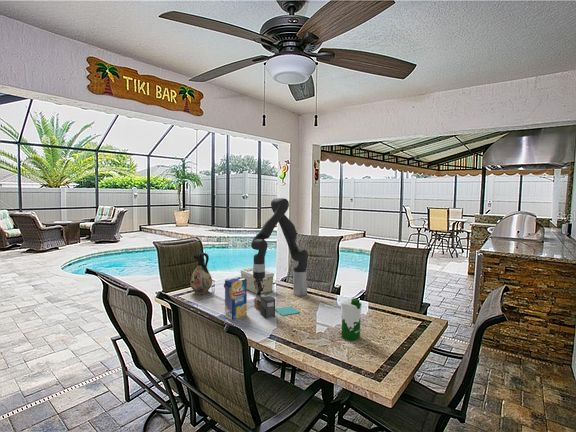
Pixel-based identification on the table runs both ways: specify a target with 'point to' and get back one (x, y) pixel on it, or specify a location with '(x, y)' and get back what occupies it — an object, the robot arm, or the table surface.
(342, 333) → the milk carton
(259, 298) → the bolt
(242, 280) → the blue yellow food box
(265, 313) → the block
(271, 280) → the storage basket
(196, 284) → the ceramic jug
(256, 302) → the block
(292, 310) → the mat
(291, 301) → the table surface
